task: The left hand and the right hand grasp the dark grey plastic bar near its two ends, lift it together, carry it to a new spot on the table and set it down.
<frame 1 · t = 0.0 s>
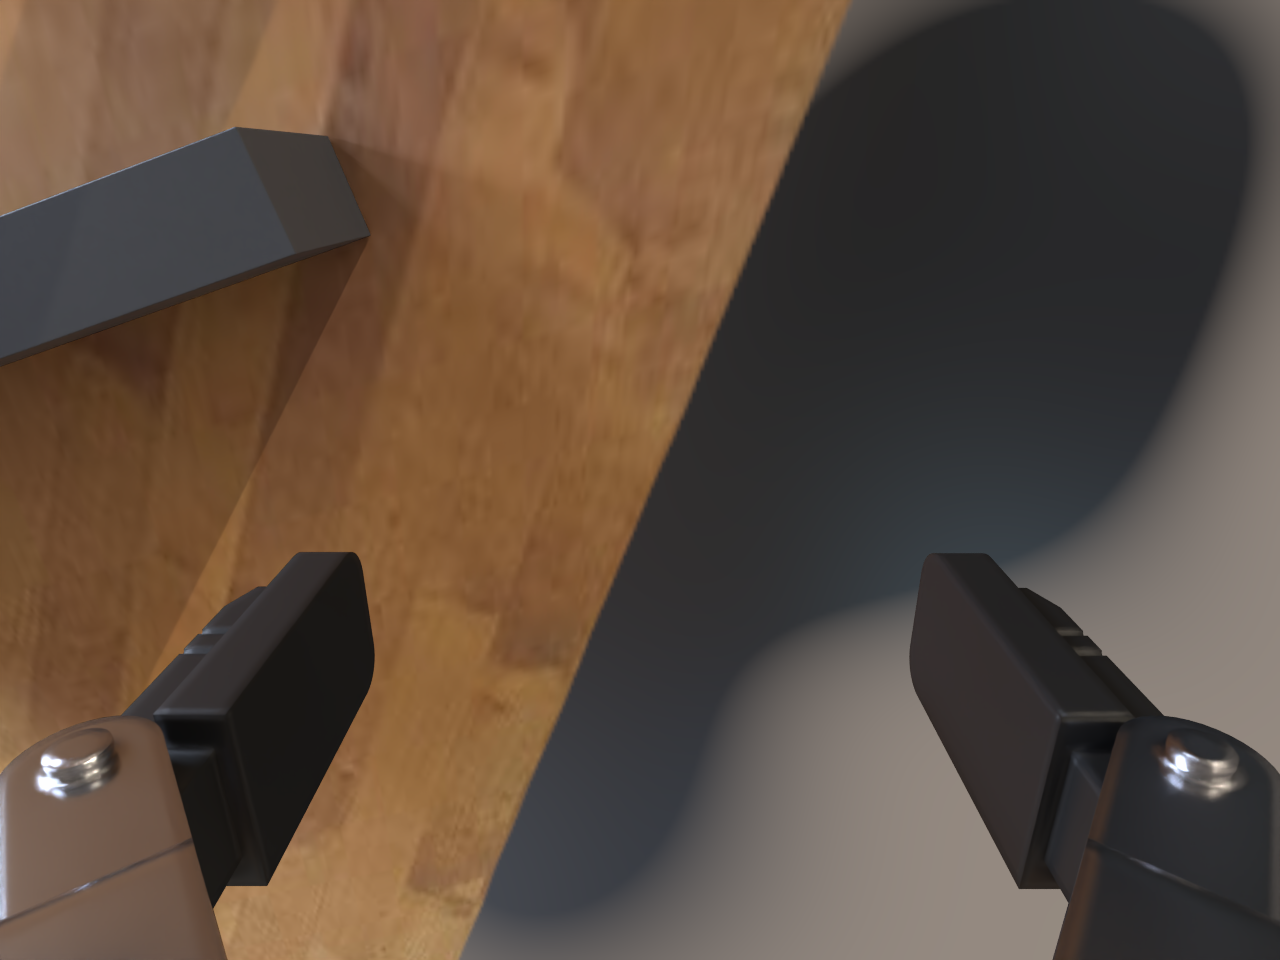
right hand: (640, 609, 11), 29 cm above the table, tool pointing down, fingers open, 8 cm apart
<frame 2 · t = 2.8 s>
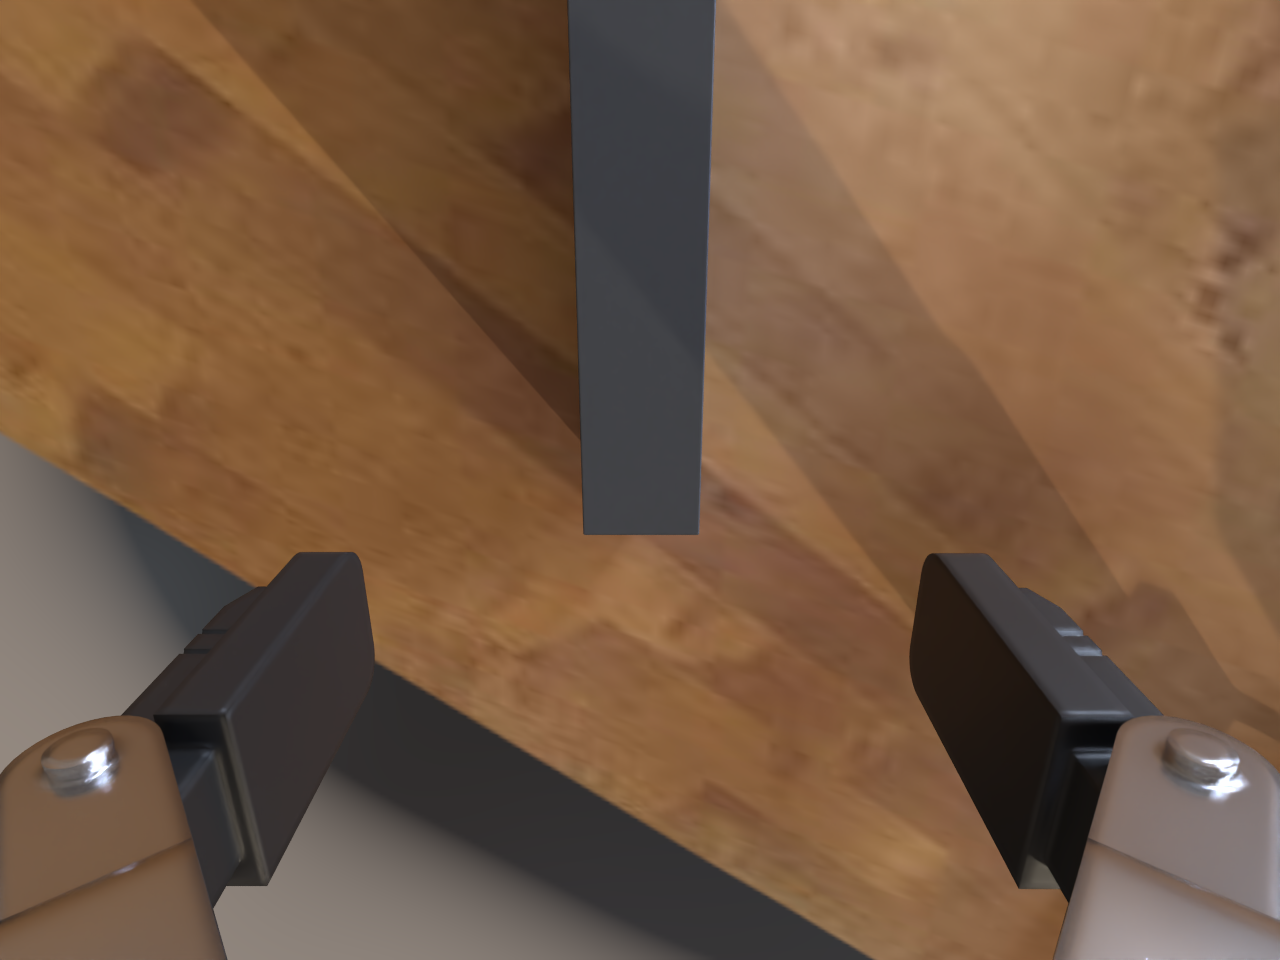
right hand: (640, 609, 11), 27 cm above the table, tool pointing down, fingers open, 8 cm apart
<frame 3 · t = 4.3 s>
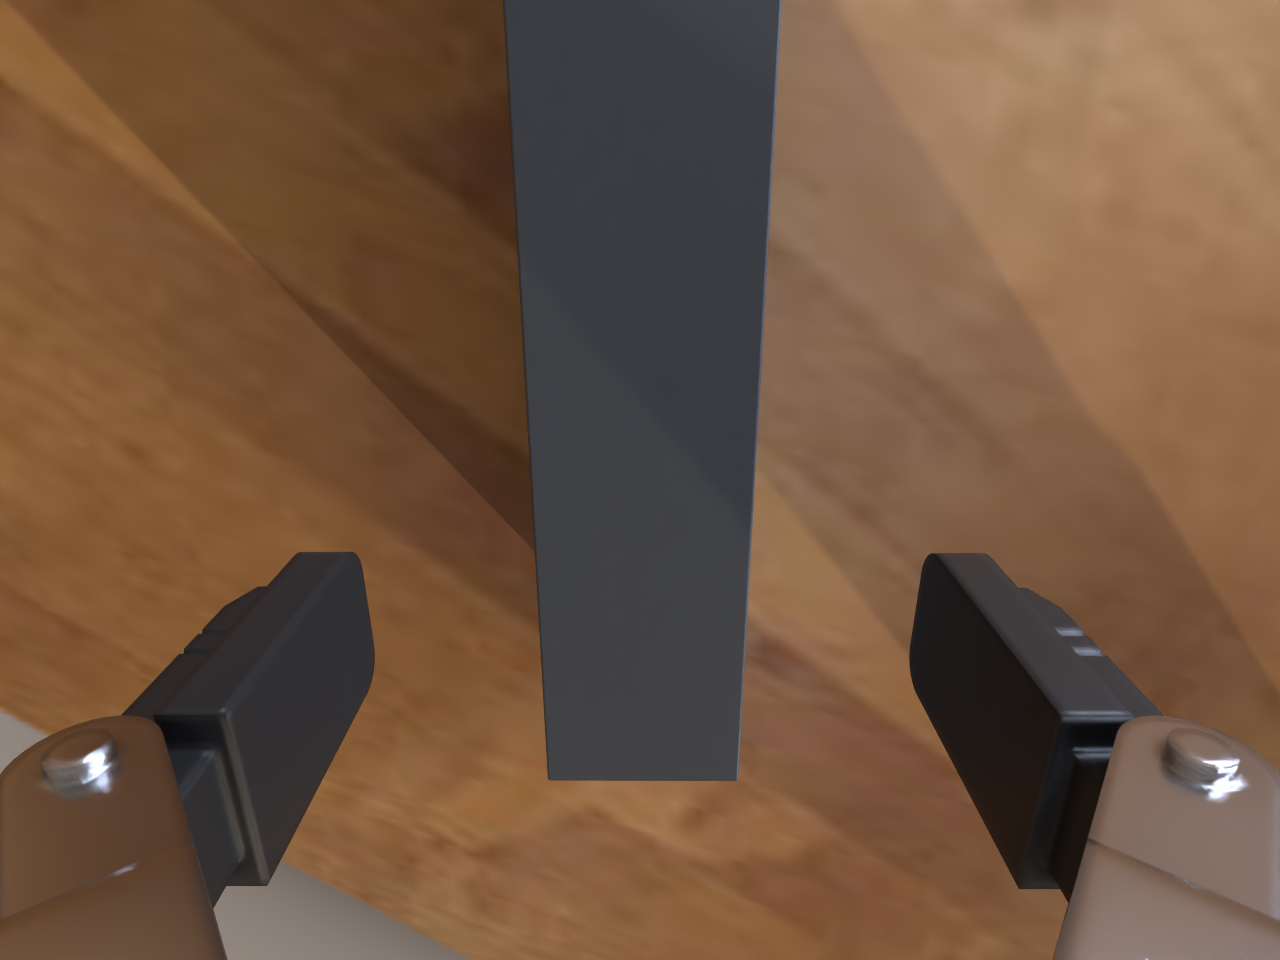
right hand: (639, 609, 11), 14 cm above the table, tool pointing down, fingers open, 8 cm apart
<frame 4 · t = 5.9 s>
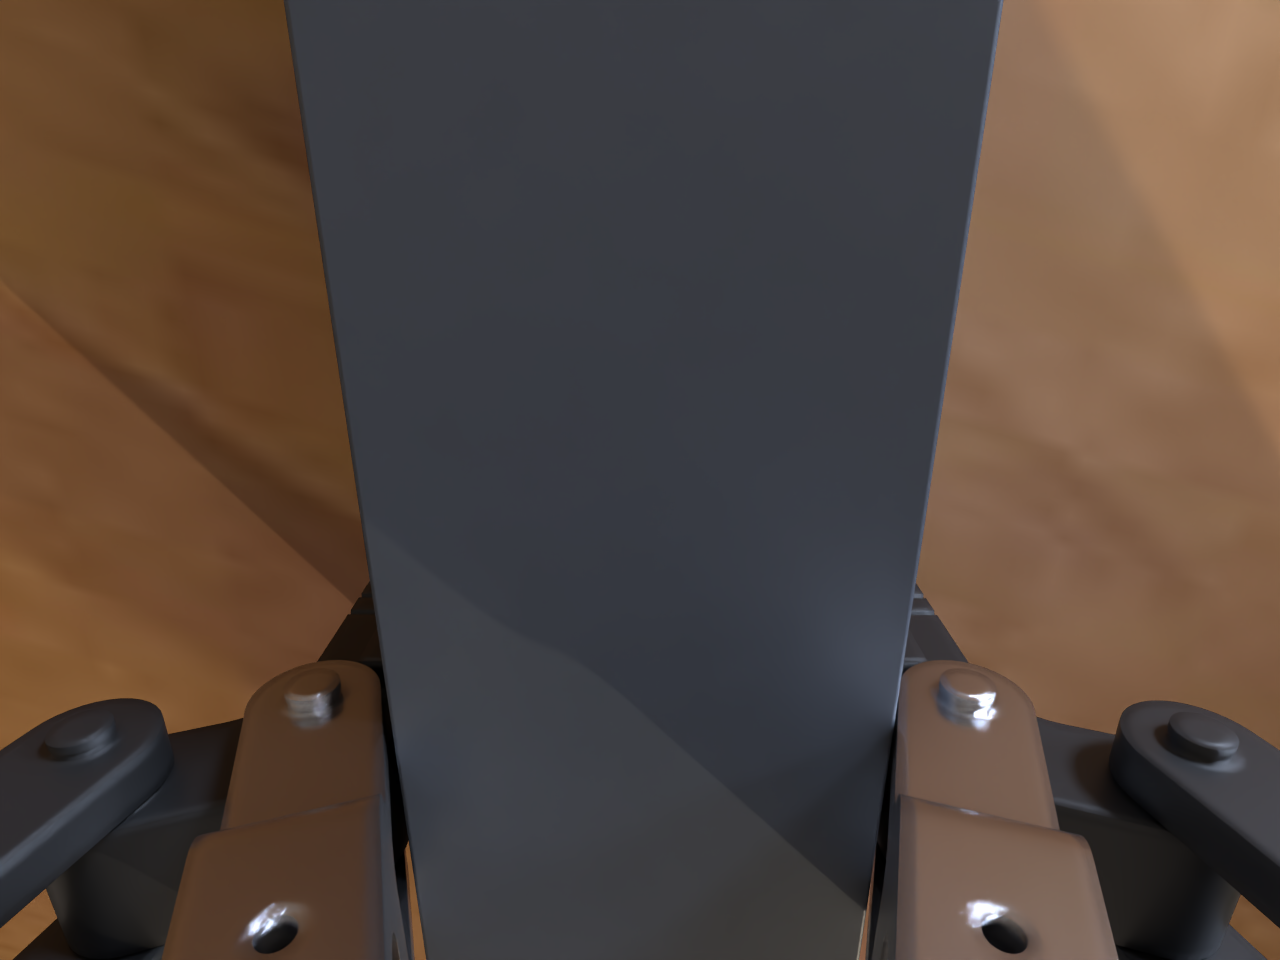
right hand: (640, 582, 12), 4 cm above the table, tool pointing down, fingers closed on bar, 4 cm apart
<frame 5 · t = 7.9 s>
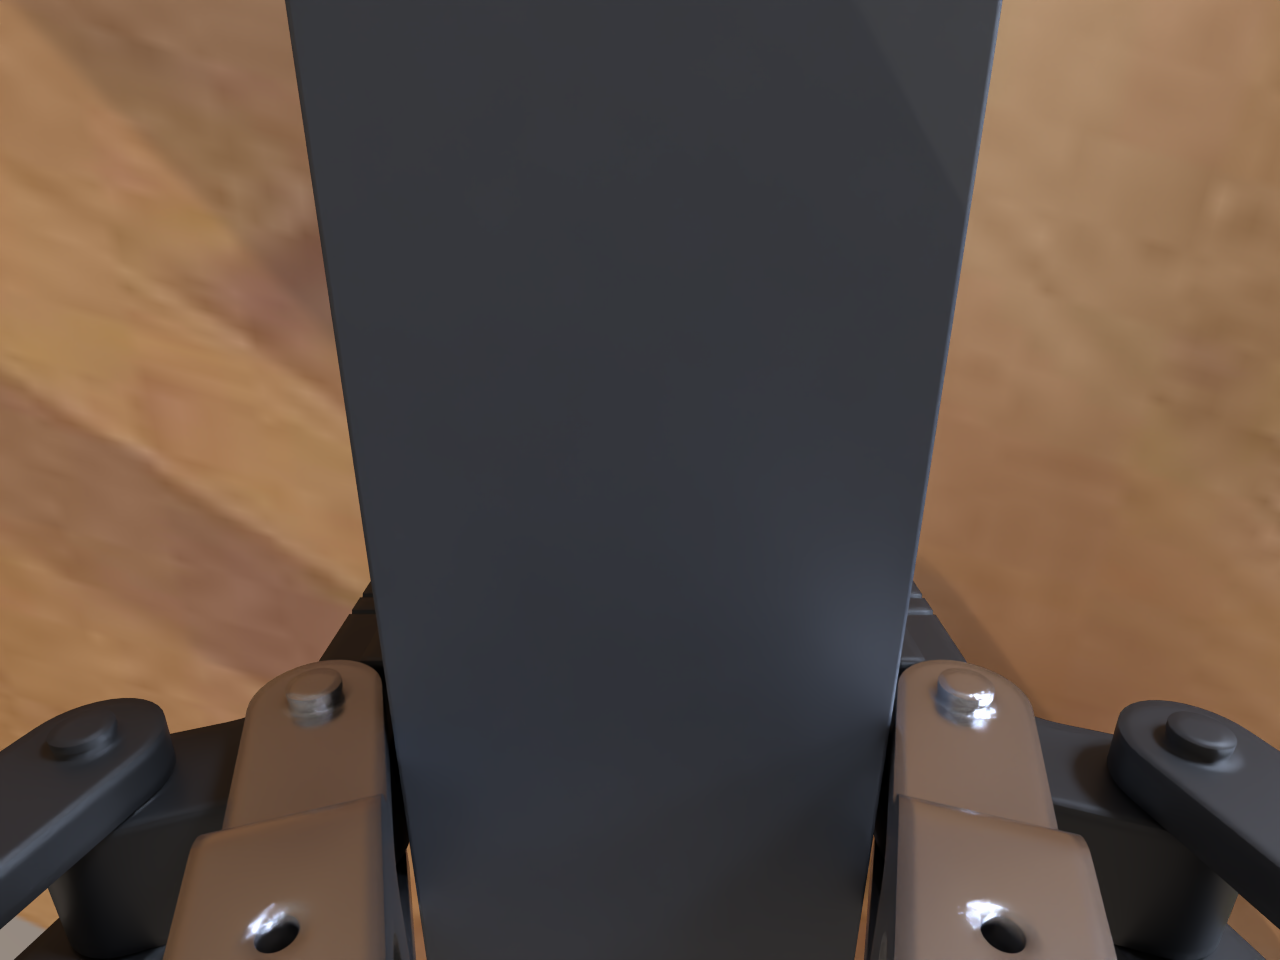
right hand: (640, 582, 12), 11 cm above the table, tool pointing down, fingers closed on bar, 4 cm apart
when the left hand's fingers open (4 cm above the table, at t = 10.0 s): bar stays where it is, on the table.
when the right hand's fingers open (5 cm above the table, at t = 10.0 s): bar stays where it is, on the table.
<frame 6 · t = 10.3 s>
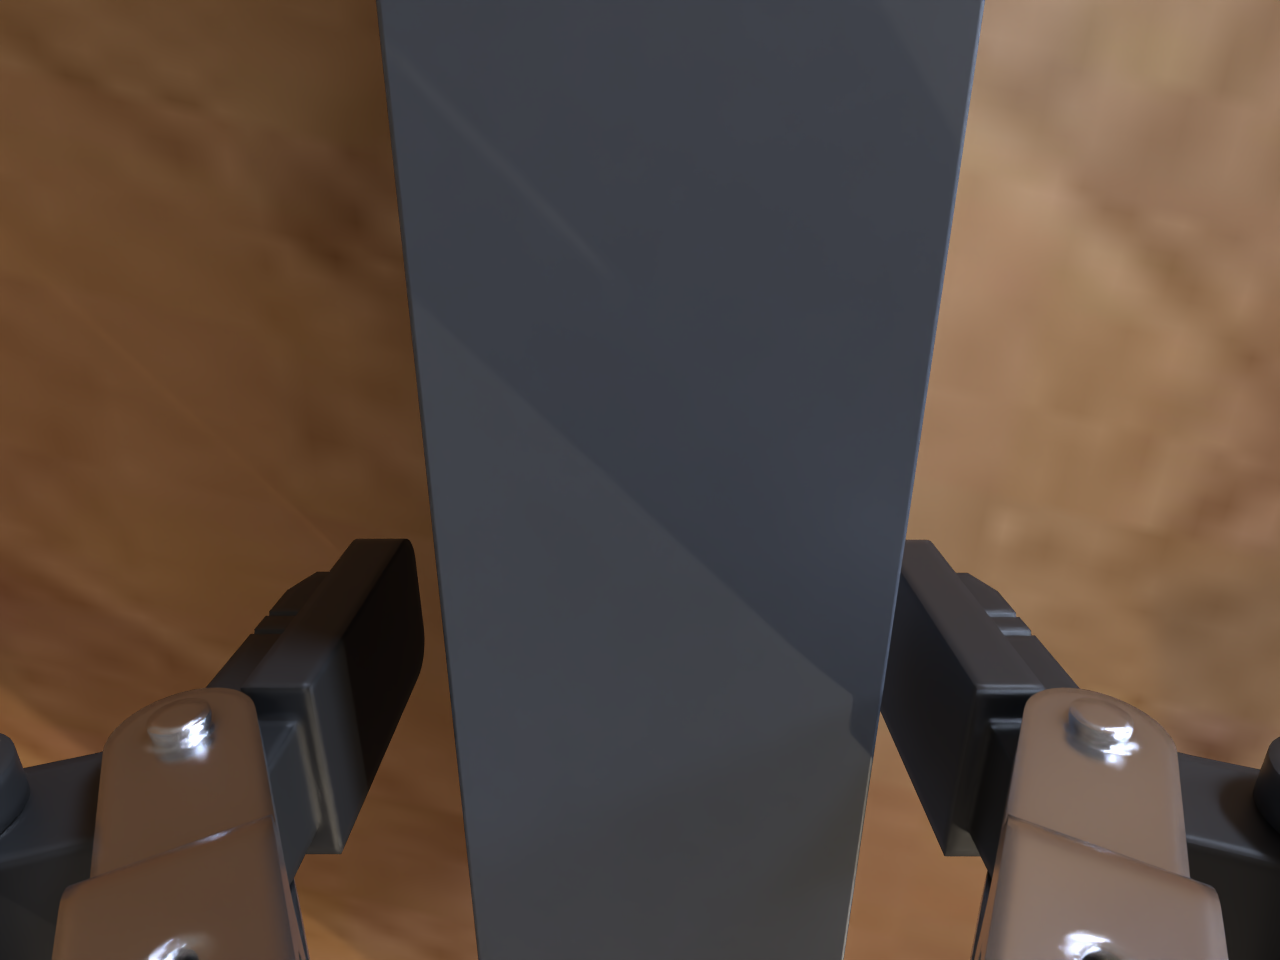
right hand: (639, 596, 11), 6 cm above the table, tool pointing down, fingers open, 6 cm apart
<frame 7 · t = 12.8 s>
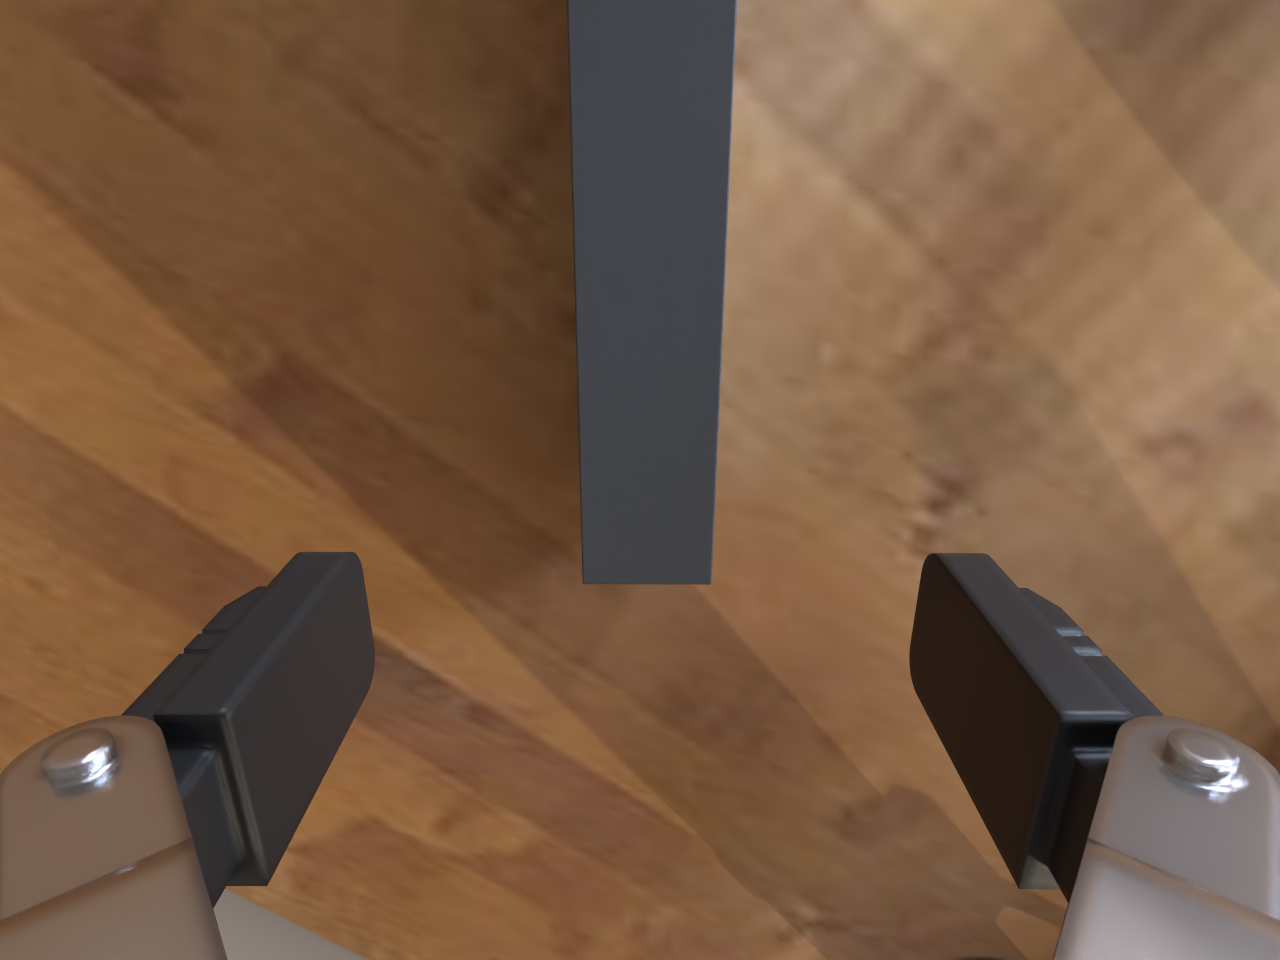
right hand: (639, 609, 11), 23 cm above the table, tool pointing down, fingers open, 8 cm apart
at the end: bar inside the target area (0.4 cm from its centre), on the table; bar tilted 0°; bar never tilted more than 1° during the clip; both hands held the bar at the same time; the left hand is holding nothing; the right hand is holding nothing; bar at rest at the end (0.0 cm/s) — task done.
